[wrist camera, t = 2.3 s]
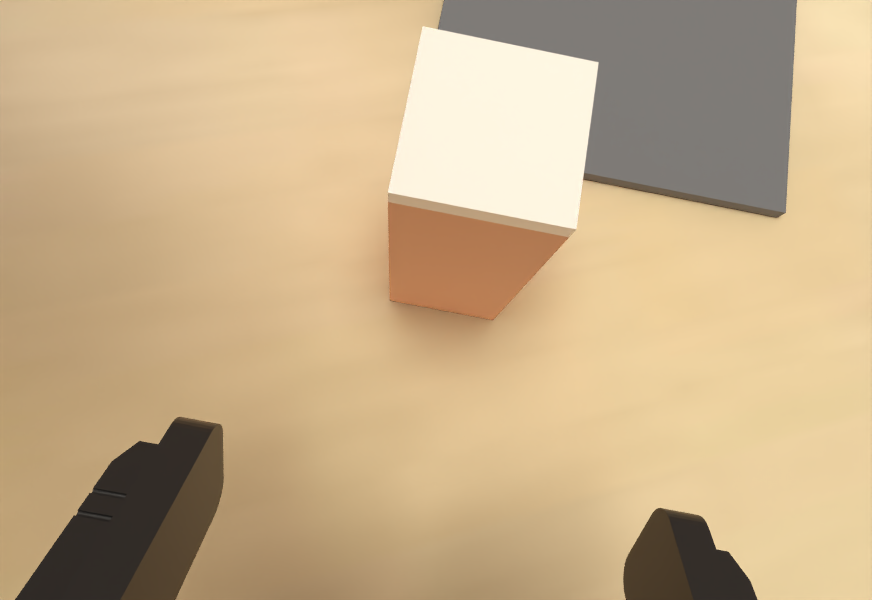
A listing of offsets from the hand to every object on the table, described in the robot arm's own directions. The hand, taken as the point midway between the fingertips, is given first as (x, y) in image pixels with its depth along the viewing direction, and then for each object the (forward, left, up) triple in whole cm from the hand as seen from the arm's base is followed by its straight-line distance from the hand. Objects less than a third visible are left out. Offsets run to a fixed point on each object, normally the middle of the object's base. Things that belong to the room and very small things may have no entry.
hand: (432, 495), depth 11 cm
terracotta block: (0, +9, -14) cm, 16 cm away
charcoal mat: (+6, +23, -14) cm, 27 cm away
